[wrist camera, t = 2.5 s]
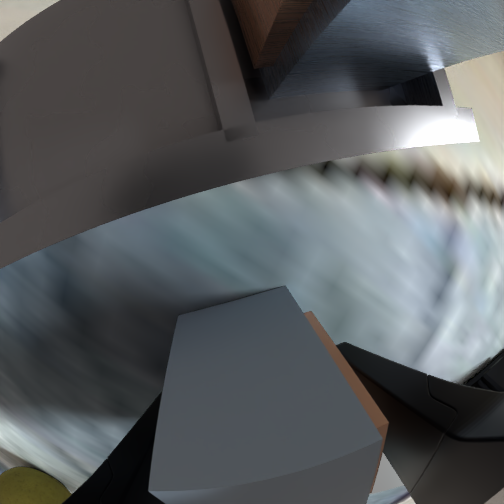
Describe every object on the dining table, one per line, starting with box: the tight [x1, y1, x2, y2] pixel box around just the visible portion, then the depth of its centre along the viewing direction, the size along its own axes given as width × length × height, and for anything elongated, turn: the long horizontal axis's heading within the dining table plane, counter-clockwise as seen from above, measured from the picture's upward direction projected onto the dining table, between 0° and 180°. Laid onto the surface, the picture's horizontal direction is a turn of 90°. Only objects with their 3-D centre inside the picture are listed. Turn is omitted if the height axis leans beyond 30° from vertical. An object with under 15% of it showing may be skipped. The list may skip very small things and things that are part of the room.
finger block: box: [148, 286, 389, 504], centre depth 6 cm, size 5×4×6 cm
